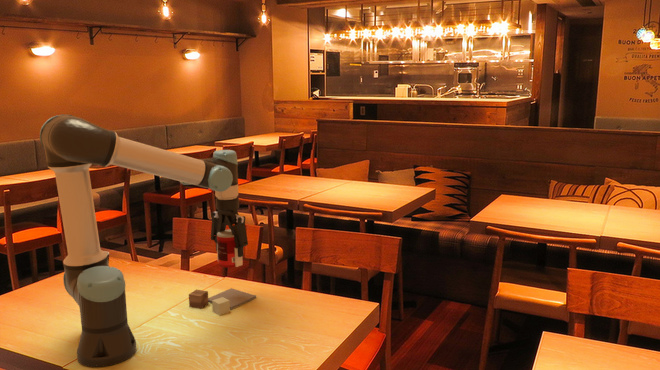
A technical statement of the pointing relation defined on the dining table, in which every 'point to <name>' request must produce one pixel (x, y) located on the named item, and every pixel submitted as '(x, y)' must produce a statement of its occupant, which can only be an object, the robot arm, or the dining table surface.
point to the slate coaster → (234, 297)
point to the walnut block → (198, 299)
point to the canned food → (226, 249)
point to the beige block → (221, 306)
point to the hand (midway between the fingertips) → (230, 263)
